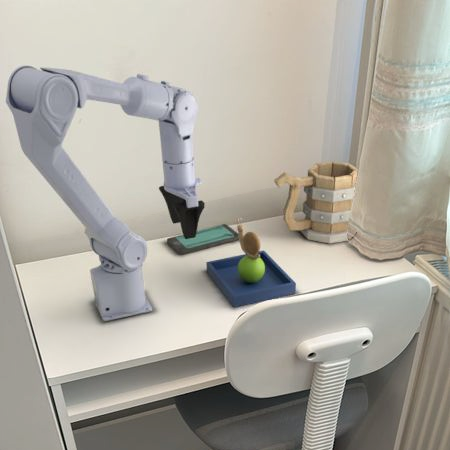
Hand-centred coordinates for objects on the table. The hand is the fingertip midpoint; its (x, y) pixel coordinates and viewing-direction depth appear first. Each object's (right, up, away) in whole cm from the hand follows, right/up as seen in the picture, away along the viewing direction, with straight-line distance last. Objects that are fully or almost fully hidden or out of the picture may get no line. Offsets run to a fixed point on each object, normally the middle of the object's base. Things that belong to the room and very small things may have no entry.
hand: (183, 229), depth 123 cm
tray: (+13, -9, +4) cm, 17 cm away
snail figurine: (+13, -9, +4) cm, 16 cm away
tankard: (+28, +5, +21) cm, 35 cm away
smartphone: (+3, +2, +19) cm, 20 cm away
